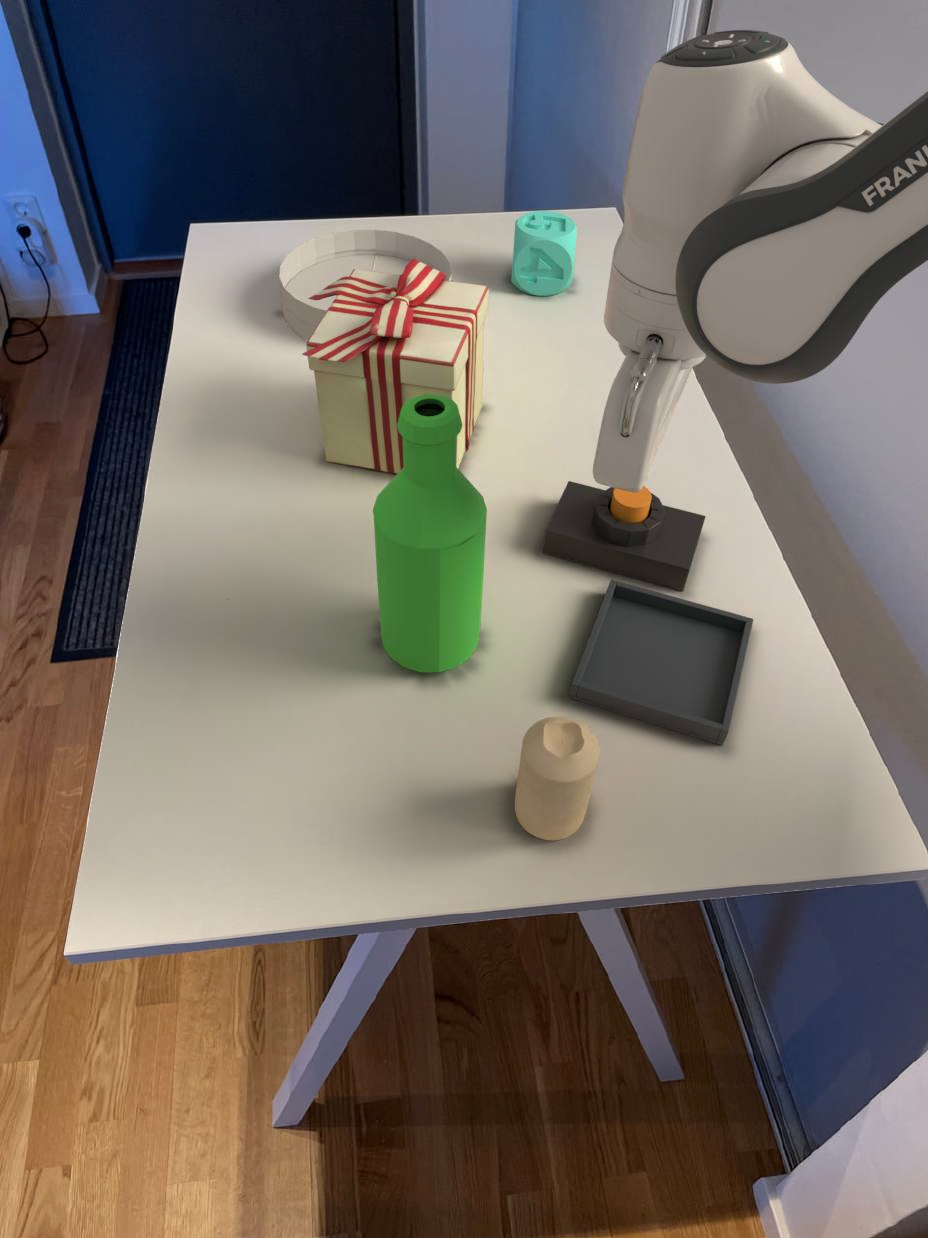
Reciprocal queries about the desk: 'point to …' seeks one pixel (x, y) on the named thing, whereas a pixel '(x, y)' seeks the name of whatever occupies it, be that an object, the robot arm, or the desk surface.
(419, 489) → the bottle
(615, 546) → the button base
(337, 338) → the gift box
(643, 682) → the soap tray
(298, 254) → the dish
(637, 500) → the orange button cap
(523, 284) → the decorative dice
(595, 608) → the desk surface
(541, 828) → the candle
